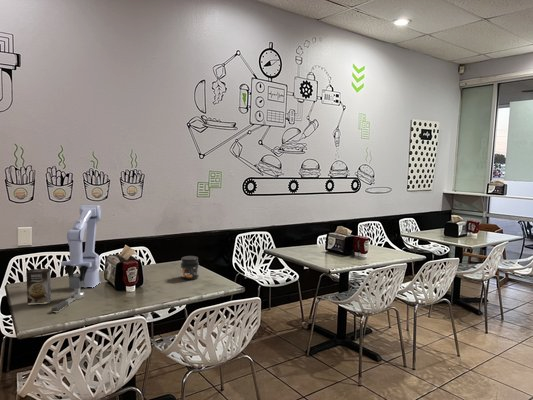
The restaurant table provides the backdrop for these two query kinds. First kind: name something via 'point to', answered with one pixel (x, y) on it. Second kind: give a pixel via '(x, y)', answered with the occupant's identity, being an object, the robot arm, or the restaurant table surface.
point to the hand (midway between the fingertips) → (77, 280)
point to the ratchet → (74, 295)
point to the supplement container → (189, 268)
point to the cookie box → (38, 286)
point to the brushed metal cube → (75, 281)
